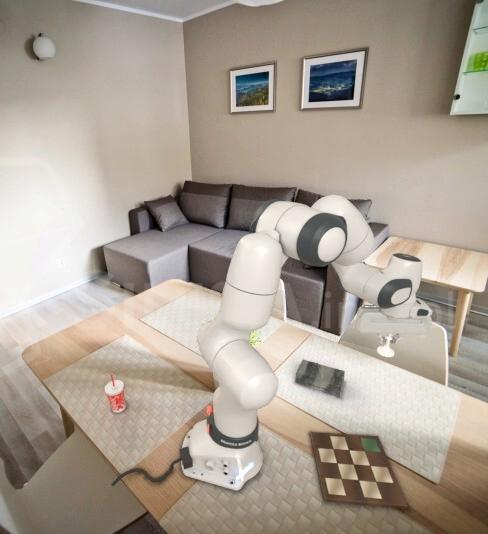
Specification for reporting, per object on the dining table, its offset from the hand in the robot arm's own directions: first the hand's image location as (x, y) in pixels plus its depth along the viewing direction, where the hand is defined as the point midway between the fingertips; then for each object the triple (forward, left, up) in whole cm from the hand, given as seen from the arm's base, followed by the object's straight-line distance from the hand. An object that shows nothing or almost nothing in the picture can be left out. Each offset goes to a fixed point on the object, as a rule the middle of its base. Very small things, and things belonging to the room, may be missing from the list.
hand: (387, 342), depth 103 cm
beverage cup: (-86, -16, -17) cm, 89 cm away
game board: (-17, -31, -16) cm, 39 cm away
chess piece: (0, 0, -4) cm, 4 cm away
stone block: (-19, -1, -17) cm, 25 cm away
